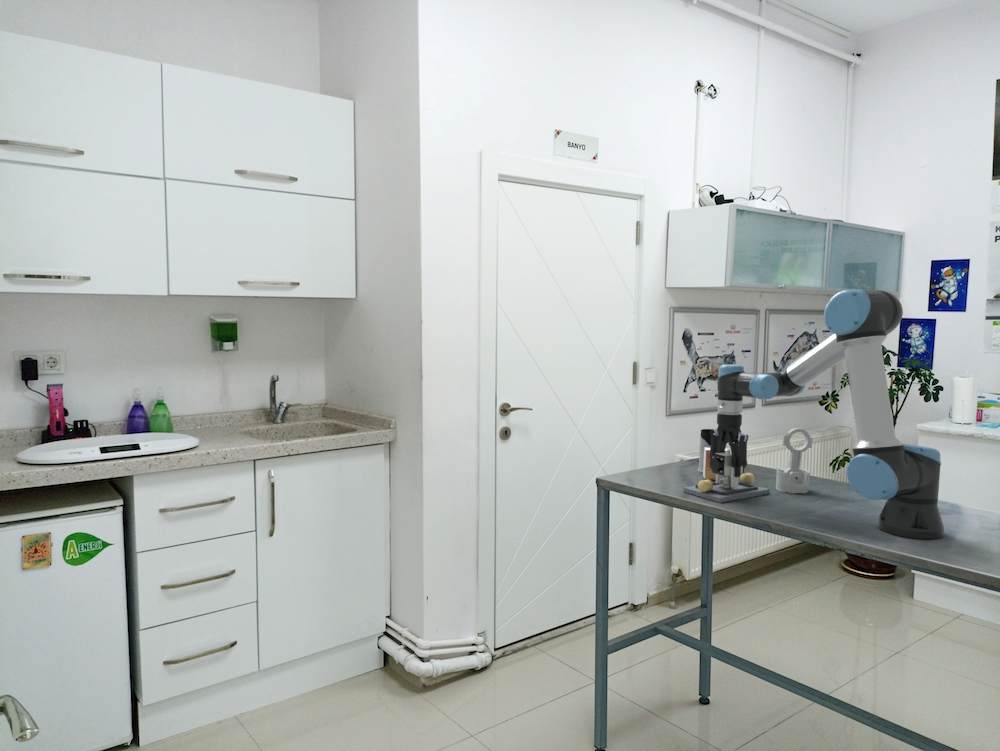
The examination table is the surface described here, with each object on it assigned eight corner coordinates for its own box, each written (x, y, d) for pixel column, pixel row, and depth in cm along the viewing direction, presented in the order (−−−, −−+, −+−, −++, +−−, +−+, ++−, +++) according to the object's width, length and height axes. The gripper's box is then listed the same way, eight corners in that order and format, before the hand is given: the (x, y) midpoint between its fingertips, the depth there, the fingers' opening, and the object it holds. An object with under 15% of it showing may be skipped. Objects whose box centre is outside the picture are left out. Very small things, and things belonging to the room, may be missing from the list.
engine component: (770, 486, 235) (783, 493, 225) (773, 425, 233) (786, 430, 223) (802, 486, 235) (817, 493, 225) (805, 426, 233) (820, 430, 223)
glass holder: (694, 468, 261) (695, 428, 260) (731, 468, 262) (732, 428, 261) (702, 473, 252) (703, 432, 251) (740, 473, 253) (742, 432, 252)
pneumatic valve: (746, 487, 224) (748, 450, 224) (718, 490, 219) (719, 452, 219) (734, 483, 229) (735, 447, 229) (706, 486, 224) (707, 449, 224)
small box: (704, 479, 243) (705, 449, 242) (702, 476, 248) (703, 446, 248) (728, 480, 242) (729, 450, 241) (726, 477, 247) (727, 447, 246)
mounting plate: (731, 483, 237) (732, 468, 237) (769, 493, 224) (770, 477, 224) (683, 492, 225) (683, 475, 225) (720, 502, 212) (720, 485, 212)
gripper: (699, 410, 228) (696, 480, 230) (745, 417, 213) (742, 492, 215) (715, 409, 232) (712, 477, 234) (761, 415, 217) (758, 489, 218)
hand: (726, 484), depth 224 cm, fingers closed on pneumatic valve, 5 cm apart
